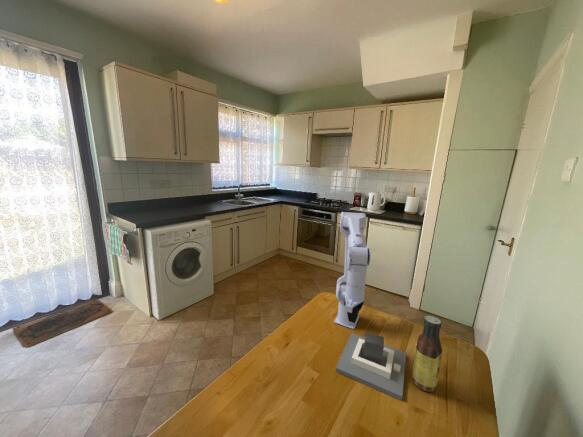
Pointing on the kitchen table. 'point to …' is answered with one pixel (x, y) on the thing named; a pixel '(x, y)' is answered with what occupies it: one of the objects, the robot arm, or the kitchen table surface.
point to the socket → (374, 367)
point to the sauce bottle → (428, 355)
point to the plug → (373, 348)
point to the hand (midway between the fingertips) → (352, 321)
